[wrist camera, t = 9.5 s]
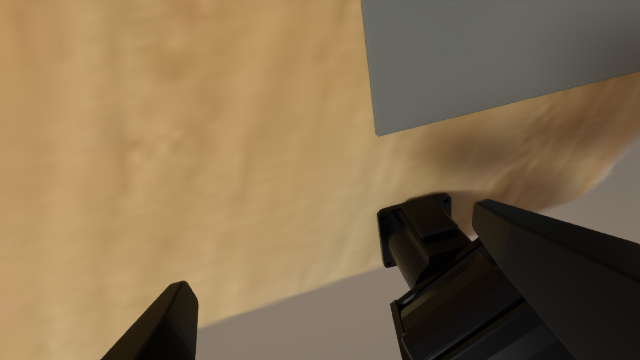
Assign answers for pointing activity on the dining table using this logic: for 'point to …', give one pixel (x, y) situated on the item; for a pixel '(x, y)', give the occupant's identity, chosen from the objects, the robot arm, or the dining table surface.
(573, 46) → the charcoal mat
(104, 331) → the dining table surface
